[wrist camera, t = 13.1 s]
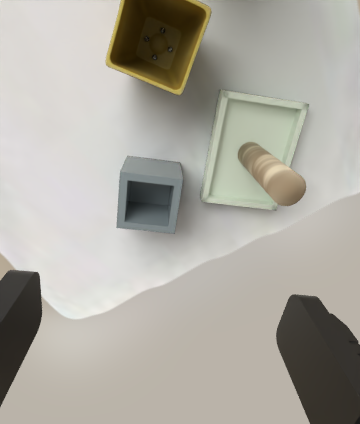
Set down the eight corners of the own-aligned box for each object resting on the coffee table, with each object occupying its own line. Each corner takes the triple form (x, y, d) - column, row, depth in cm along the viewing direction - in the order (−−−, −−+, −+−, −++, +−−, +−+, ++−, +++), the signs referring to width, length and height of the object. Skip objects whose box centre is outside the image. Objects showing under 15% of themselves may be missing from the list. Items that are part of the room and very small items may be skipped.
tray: (219, 89, 40) (223, 90, 38) (301, 102, 42) (309, 104, 39) (199, 195, 47) (201, 201, 45) (270, 204, 48) (275, 210, 46)
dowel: (240, 140, 42) (276, 170, 29) (264, 143, 43) (310, 175, 29) (235, 163, 44) (267, 203, 30) (258, 167, 44) (299, 207, 31)
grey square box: (127, 155, 44) (120, 171, 36) (179, 162, 44) (183, 179, 37) (123, 204, 47) (116, 227, 40) (172, 209, 48) (174, 233, 40)
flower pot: (177, 92, 40) (181, 97, 32) (116, 67, 38) (103, 65, 30) (202, 23, 37) (213, 8, 29) (136, -9, 35) (128, -34, 27)
